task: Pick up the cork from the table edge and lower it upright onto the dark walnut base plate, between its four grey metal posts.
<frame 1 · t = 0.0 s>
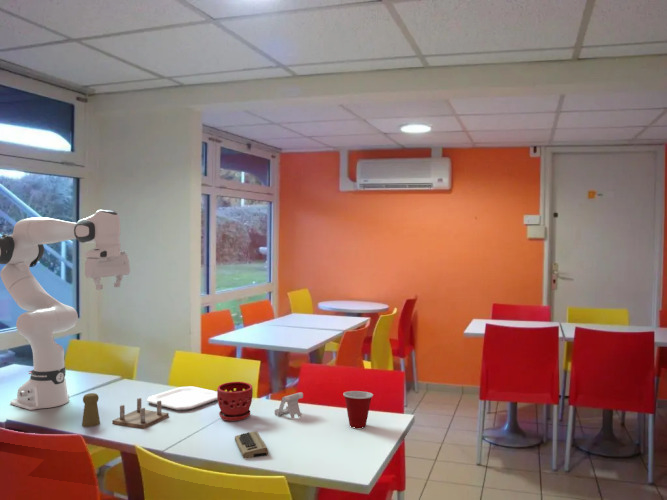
hand: (108, 288, 215), 48 cm above the table, tool pointing down, fingers open, 8 cm apart
standoff base: (141, 419, 208), on the table
plant pot: (235, 418, 211), on the table
plastic cup: (358, 426, 202), on the table
cork: (91, 424, 203), on the table
plate: (185, 401, 232), on the table
portable electronic device stand: (289, 415, 214), on the table
computer: (250, 450, 181), on the table
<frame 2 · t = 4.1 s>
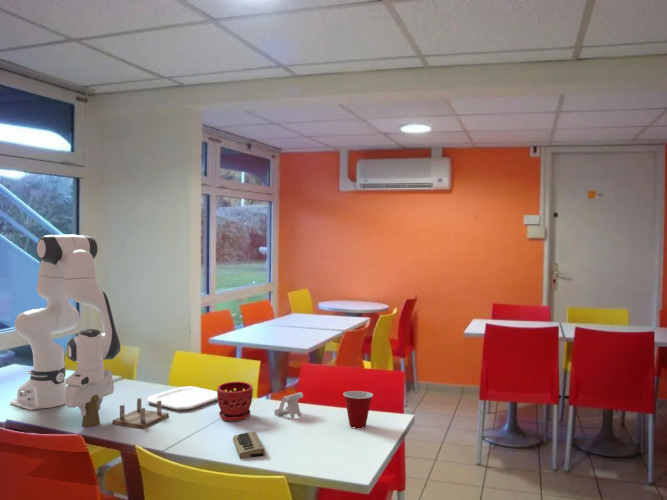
hand: (90, 412, 203), 4 cm above the table, tool pointing down, fingers closed on cork, 5 cm apart
cork: (91, 424, 203), on the table, touching gripper
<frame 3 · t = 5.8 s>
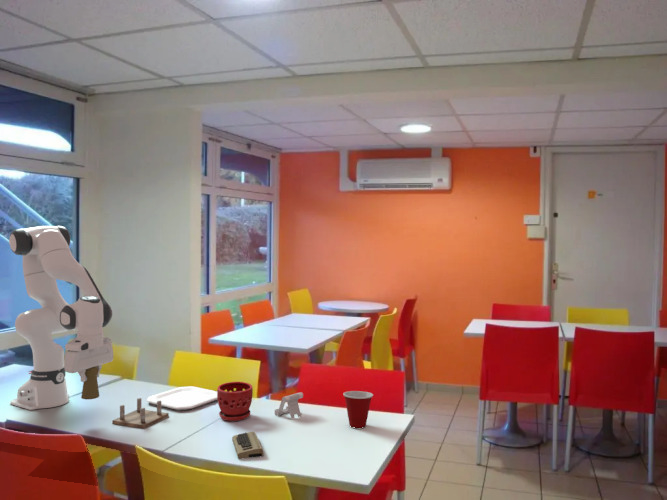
hand: (90, 379, 203), 16 cm above the table, tool pointing down, fingers closed on cork, 4 cm apart
cork: (90, 397, 203), point 10 cm above the table, touching gripper
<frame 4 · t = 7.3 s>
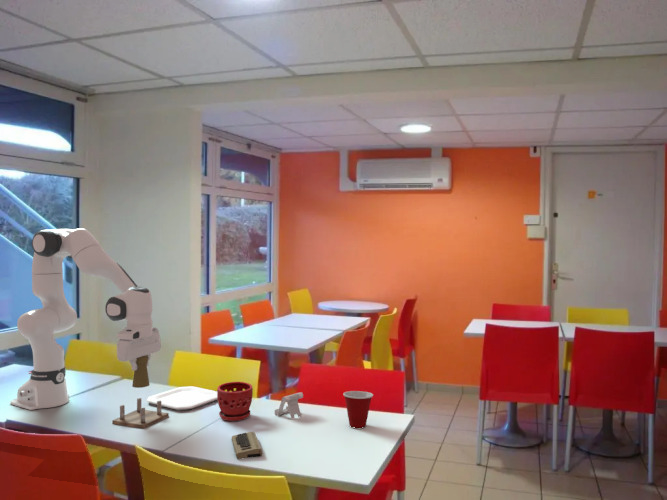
hand: (140, 368, 207), 19 cm above the table, tool pointing down, fingers closed on cork, 4 cm apart
cork: (140, 385, 207), point 13 cm above the table, touching gripper
when the fingers open (7 cm above the table, at t = 10.0 s): cork stays where it is, resting on standoff base.
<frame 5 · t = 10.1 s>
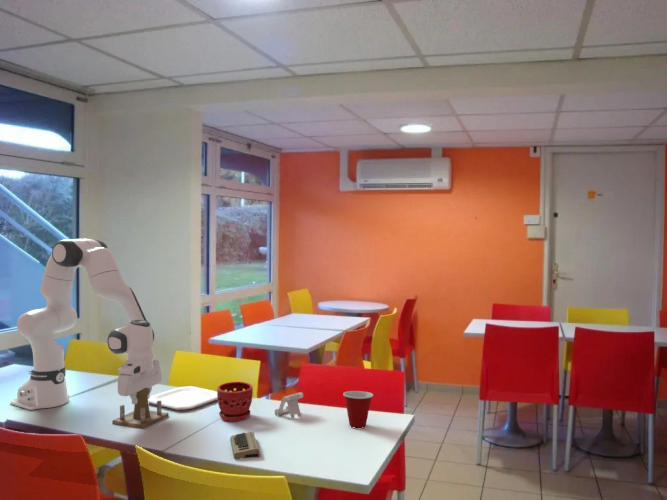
hand: (140, 401, 208), 7 cm above the table, tool pointing down, fingers open, 5 cm apart
cork: (141, 417, 208), point 1 cm above the table, touching standoff base
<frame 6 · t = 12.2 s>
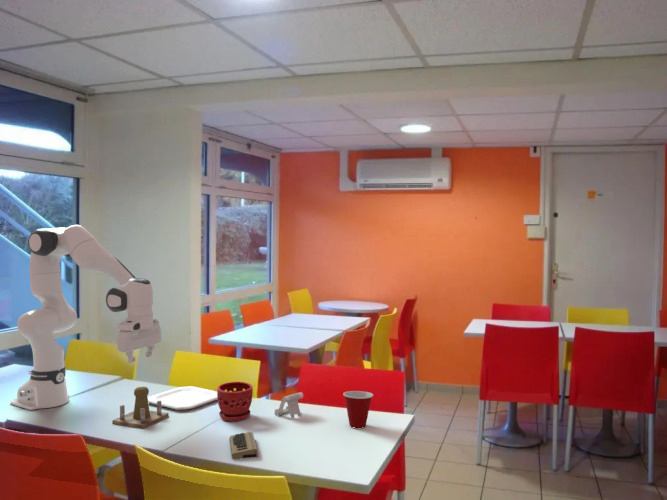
hand: (140, 359, 207), 22 cm above the table, tool pointing down, fingers open, 8 cm apart
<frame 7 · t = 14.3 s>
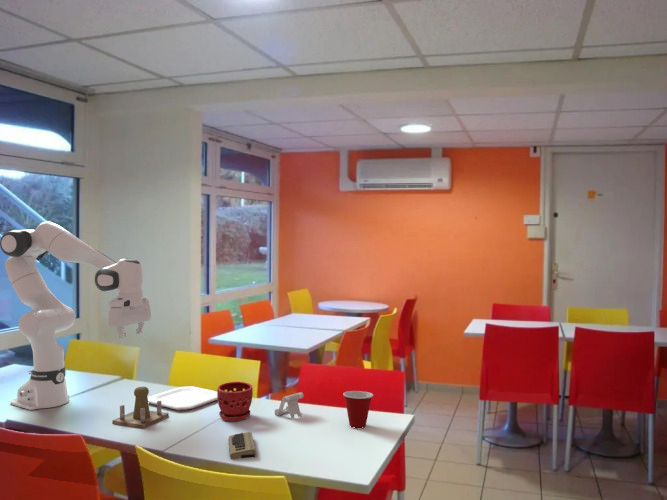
hand: (130, 335, 219), 29 cm above the table, tool pointing down, fingers open, 8 cm apart
at the end: cork 0.2 cm off-centre on the standoff base, point 1.0 cm above the standoff base's base; cork tilted 0°; the gripper is holding nothing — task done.
